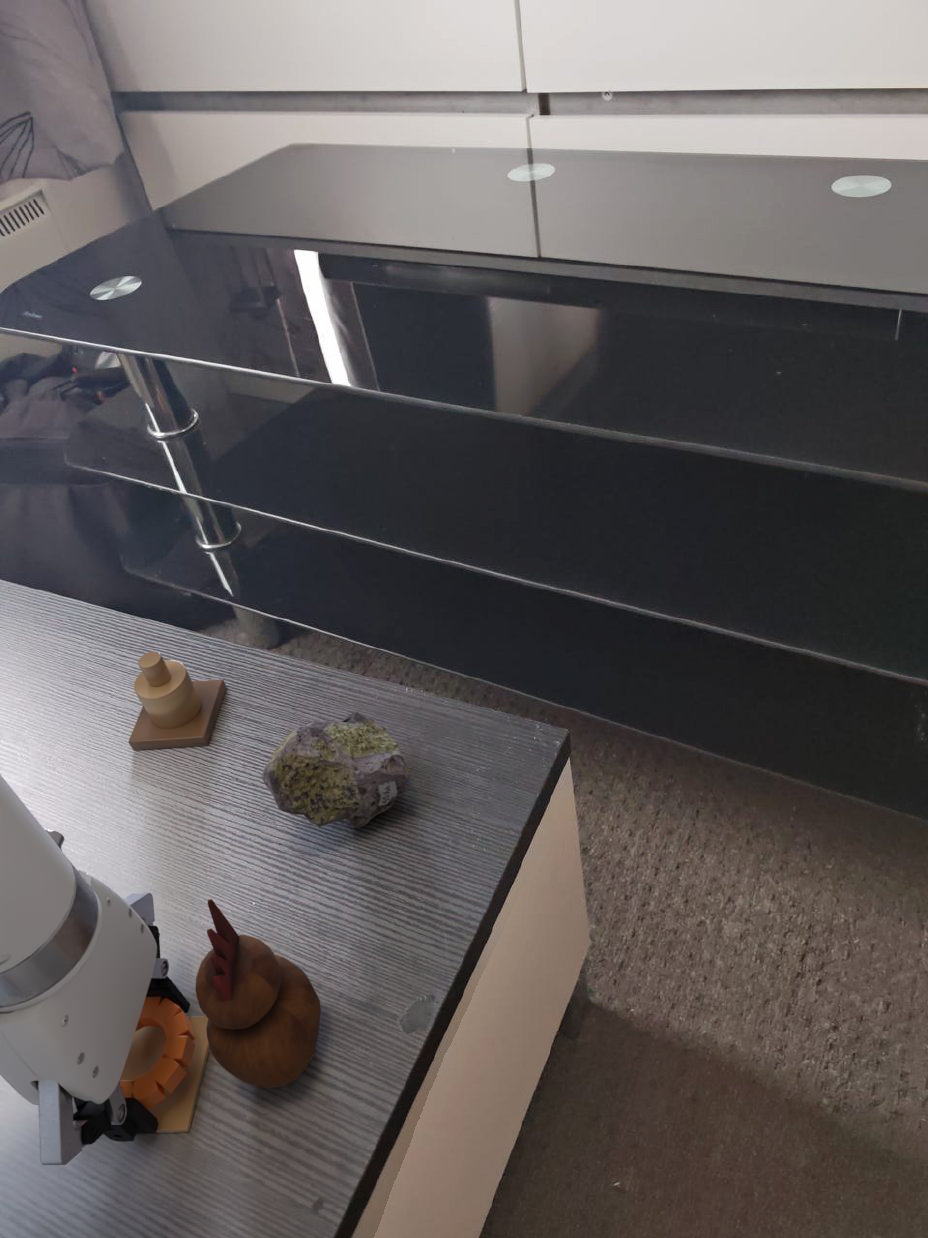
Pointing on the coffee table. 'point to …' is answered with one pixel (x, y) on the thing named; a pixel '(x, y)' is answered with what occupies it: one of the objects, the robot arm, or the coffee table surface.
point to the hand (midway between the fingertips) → (151, 1066)
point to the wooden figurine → (256, 1008)
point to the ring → (174, 1053)
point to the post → (173, 705)
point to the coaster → (182, 1101)
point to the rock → (337, 771)
